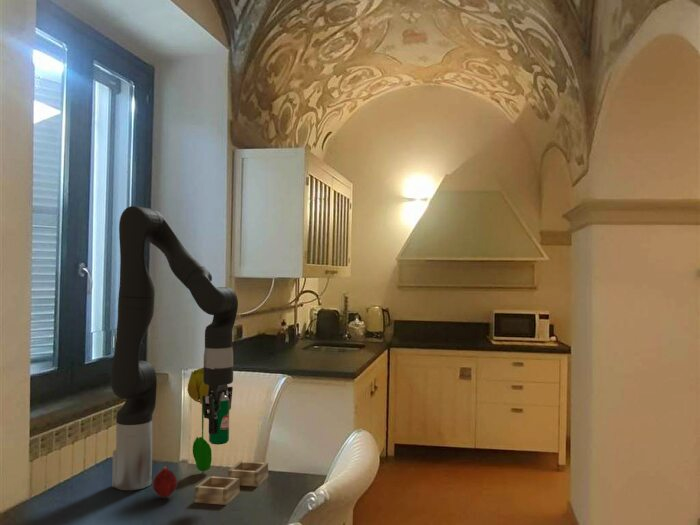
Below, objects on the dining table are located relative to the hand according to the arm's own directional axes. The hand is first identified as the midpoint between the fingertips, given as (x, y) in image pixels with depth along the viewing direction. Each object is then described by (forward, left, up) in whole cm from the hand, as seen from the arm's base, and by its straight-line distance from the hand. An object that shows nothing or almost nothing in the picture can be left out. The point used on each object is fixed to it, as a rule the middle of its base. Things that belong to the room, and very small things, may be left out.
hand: (217, 430), depth 157 cm
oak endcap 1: (0, 0, -17) cm, 17 cm away
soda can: (0, 0, -3) cm, 3 cm away
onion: (-13, -3, -17) cm, 22 cm away
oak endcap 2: (+3, +14, -17) cm, 22 cm away
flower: (-12, +17, -17) cm, 27 cm away
